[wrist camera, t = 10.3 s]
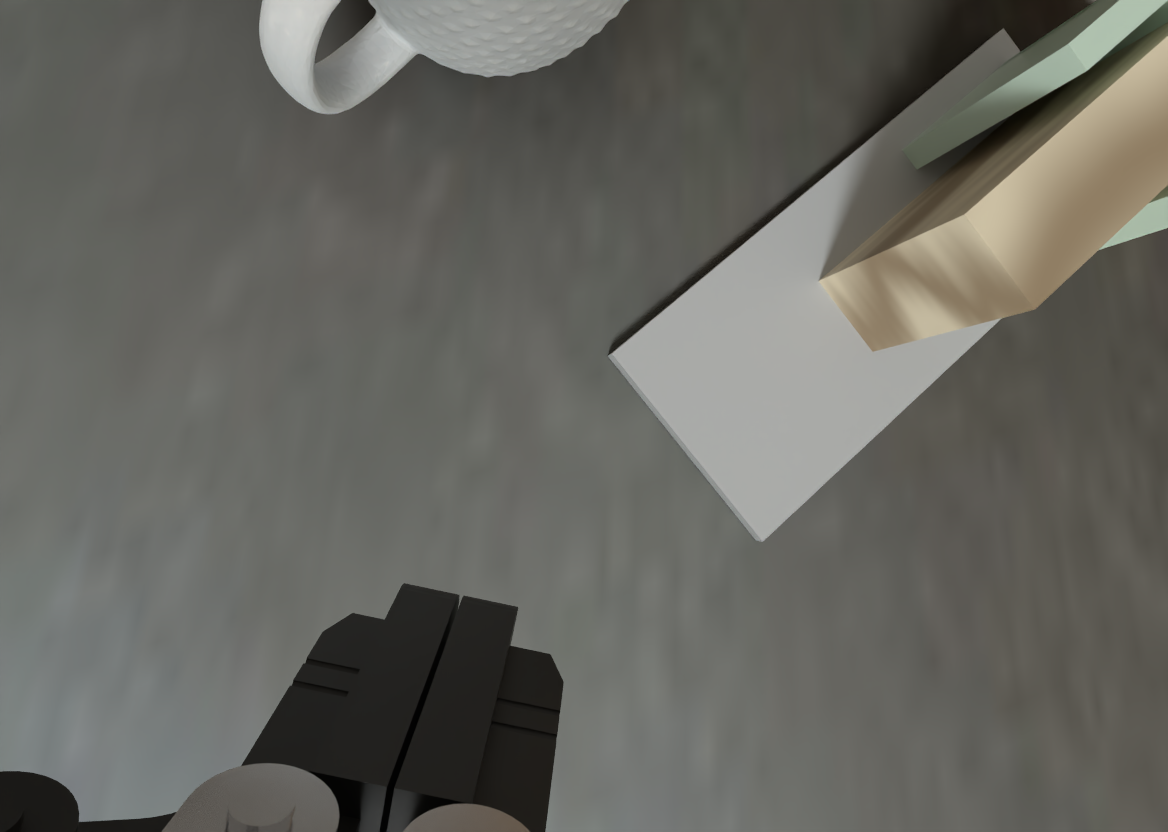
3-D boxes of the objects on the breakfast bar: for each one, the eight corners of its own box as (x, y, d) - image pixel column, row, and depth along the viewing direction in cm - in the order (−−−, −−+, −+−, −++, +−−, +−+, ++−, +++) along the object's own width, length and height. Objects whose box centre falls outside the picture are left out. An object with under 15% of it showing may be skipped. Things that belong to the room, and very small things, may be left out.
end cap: (901, 150, 36) (1068, 44, 27) (1008, 59, 38) (1199, -69, 29) (1000, 281, 37) (1194, 219, 28) (1102, 187, 38) (1317, 100, 29)
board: (607, 355, 34) (611, 353, 33) (993, 35, 38) (1003, 28, 38) (756, 540, 34) (762, 541, 34) (1117, 203, 39) (1128, 199, 38)
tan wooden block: (818, 281, 35) (964, 214, 26) (1019, 108, 37) (1214, -5, 29) (872, 351, 35) (1034, 309, 26) (1068, 176, 38) (1275, 84, 29)
